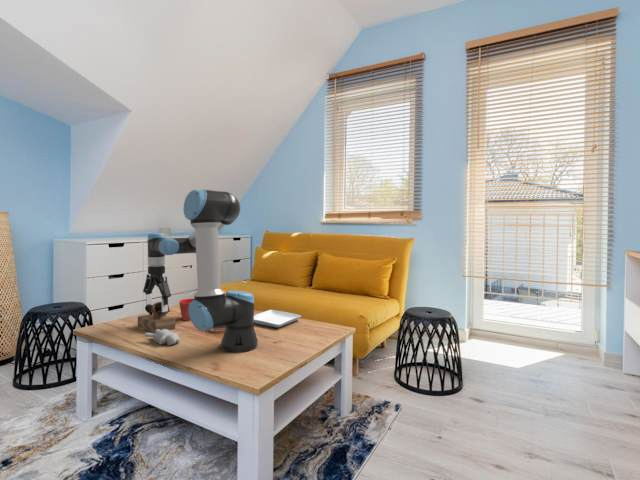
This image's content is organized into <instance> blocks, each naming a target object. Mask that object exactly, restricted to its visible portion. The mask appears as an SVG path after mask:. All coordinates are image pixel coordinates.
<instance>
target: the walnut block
mask: <svg viewBox="0 0 640 480" xmlns="http://www.w3.org/2000/svg"><path fill="white" fill-rule="evenodd" d="M153 316H154V315H153V313H152V315H150V314H149V313H148V314H144V315H140V316H139V315H138V316H137V328H141V329H142V330H146V331H148V332H149V333H154V334H155V333H156V332H155V330H156V329H159V330H163V329H167V330H169V331H172V330H175V329H176V318H175V317H172V316H169V315H167V314H166V315H165V316H162V317H159V318H158V317H157V319H156V320H155V319H153Z"/></svg>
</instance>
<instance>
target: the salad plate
mask: <svg viewBox="0 0 640 480" xmlns="http://www.w3.org/2000/svg"><path fill="white" fill-rule="evenodd" d="M301 317H302V315H301V314H296V313H292V312H286V311H283V310H275V309H269V310H268V309H267V310H266V311H262V312H260V313H256V314H254V324H256V325H261V326H265V327H271V328H281V327H284V326H286V325H289V324H291V323H293V322H296V321H297V320H299V319H301Z"/></svg>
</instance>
